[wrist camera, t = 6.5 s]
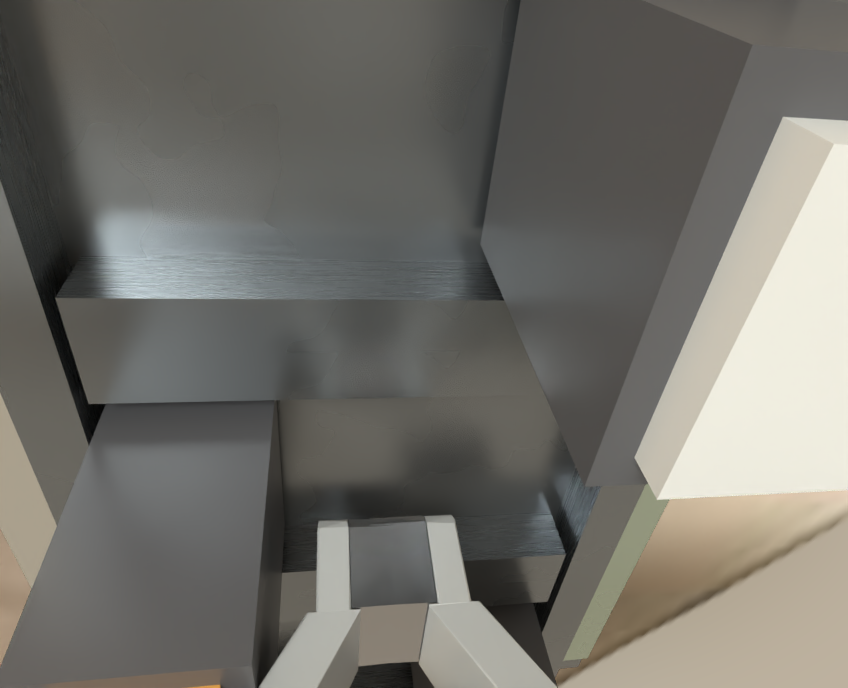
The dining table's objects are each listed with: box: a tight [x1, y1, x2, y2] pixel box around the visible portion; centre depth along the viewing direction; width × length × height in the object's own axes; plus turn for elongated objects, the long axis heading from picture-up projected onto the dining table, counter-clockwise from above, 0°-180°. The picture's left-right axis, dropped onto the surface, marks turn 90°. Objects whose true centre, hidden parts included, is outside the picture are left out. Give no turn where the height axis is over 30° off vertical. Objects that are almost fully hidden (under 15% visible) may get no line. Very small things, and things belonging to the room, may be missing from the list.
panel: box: [0, 0, 848, 688], centre depth 13 cm, size 22×15×2 cm
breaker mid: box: [0, 400, 285, 688], centre depth 10 cm, size 4×3×6 cm
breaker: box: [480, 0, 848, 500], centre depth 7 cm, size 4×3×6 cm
